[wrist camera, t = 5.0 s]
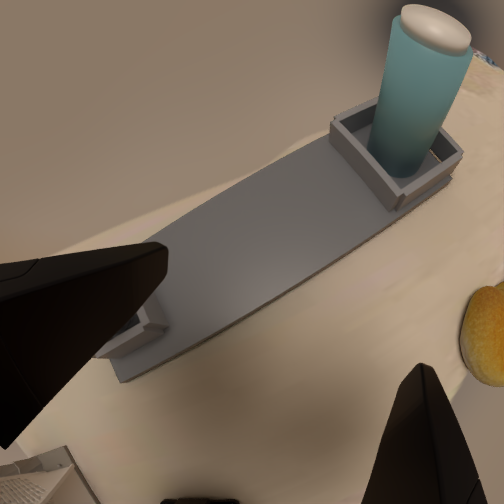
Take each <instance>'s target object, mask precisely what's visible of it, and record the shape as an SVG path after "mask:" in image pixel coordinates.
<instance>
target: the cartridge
mask: <svg viewBox="0 0 504 504" xmlns="http://www.w3.org/2000/svg"><path fill="white" fill-rule="evenodd" d="M470 41H471V35H470V33H469V31H468V30H467V29H466V28H465V27H464V26H463V25H462V24H461V23H460V22H458V21H457V20H456V19H454V18H453V17H451V16H449V15H447V14H445V13H443V12H441V11H439V10H436V9H434V8H431V7H427V6H423V5H416V4H411V5H406V6H404V7H403V8H402V12H401V15H399V16H396V17H395V18H394V20H393V23H392V29H391V36H390V42H389V48H388V53H387V59H386V64H385V69H384V74H383V79H382V84H381V89H380V94H379V98H378V102H377V107H376V111H375V115H374V120H373V124H372V128H371V132H370V136H369V140H368V144H367V151H368V152H369V153H370V154H371V155H372V156H373V158H374V159H375V160H376V161H377V162H378V163H379V164H380V165H381V167H382V168H383V169H384V170H385V171H386V172H387V174H388V175H389V176H391V177H395V178H407V177H410V176H412V175H414V174H415V173H416V172H417V171H418V170H419V168H420V166H421V164H422V162H423V161H424V159H425V157H426V155H427V153H428V151H429V149H430V148H431V146H432V144H433V142H434V140H435V138H436V136H437V134H438V132H439V130H440V128H441V126H442V124H443V122H444V120H445V118H446V116H447V114H448V112H449V110H450V108H451V105H452V103H453V101H454V99H455V97H456V95H457V92H458V90H459V88H460V86H461V83H462V81H463V79H464V76H465V74H466V72H467V69H468V67H469V64H470V62H471V59H472V57H473V51H472V49H471V47H470V45H469V44H470Z"/></svg>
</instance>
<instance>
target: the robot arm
mask: <svg viewBox="0 0 504 504" xmlns="http://www.w3.org/2000/svg"><path fill="white" fill-rule="evenodd" d="M168 258H169V250H168V247H167V246H165V245H163V244H161V243H159V242H156V241H153V242H146V243H139V244H132V245H125V246H118V247H111V248H104V249H97V250H90V251H83V252H77V253H70V254H64V255H57V256H51V257H45V258H41V259H33V260H26V261H20V262H13V263H4V264H0V446H1V447H2V448H3V449H5V450H6V449H7V448H8V447H9V446H10V445H11V444H12V442H13V441H14V440H15V439H16V438H17V437H18V436H19V435H20V434H21V433H22V431H23V430H24V429H25V428H26V427H27V426H28V425H29V424H30V423H31V422H32V420H33V419H34V418H35V417H36V416H37V415H38V414H39V413H40V412H41V411H42V410H43V407H45V406H46V405H47V404H48V403H49V402H50V401H51V400H52V399H53V398H54V396H55V395H56V394H57V393H58V392H59V391H60V390H61V389H62V388H63V387H64V386H65V385H66V384H67V383H68V382H69V381H70V380H71V379H72V378H73V376H74V375H75V374H76V373H77V372H78V371H79V370H80V369H81V368H82V367H83V366H84V365H85V364H86V363H87V362H88V361H89V360H90V359H91V358H92V357H93V356H94V355H95V354H96V353H97V352H98V351H99V350H100V349H101V348H102V347H103V346H104V345H105V344H106V343H107V342H108V341H109V340H110V339H111V338H112V337H113V336H114V335H115V334H116V333H117V332H118V331H119V330H120V329H121V328H122V327H123V326H124V325H125V324H126V323H127V322H128V321H129V320H130V319H131V318H132V317H133V316H134V315H135V314H136V312H137V311H138V310H139V309H140V308H141V306H142V305H143V304H144V303H145V302H146V300H147V299H148V298H149V297H150V296H151V294H152V293H153V292H154V291H155V289H156V288H157V287H158V286H159V285H160V283H161V282H162V281H163V280H164V279H165V277H166V275H167V272H168ZM478 478H479V476H478V473H477V470H476V467H475V464H474V461H473V459H472V456H471V453H470V451H469V448H468V445H467V443H466V440H465V437H464V435H463V433H462V430H461V428H460V425H459V423H458V420H457V418H456V416H455V414H454V411H453V409H452V407H451V404H450V402H449V400H448V398H447V396H446V393H445V391H444V389H443V387H442V385H441V383H440V381H439V379H438V376H437V374H436V372H435V370H434V369H433V367H431V366H429V365H426V364H424V363H418V364H417V365H416V366H415V367H414V368H413V369H412V371H411V372H410V373H409V374H408V375H407V376H406V377H405V379H404V380H403V381H402V382H401V384H400V386H399V388H398V391H397V394H396V397H395V401H394V404H393V407H392V410H391V413H390V416H389V419H388V421H387V424H386V427H385V430H384V433H383V435H382V438H381V442H380V445H379V449H378V453H377V456H376V460H375V463H374V466H373V470H372V473H371V476H370V479H369V482H368V485H367V488H366V491H365V494H364V497H363V500H362V503H361V504H488V503H487V500H486V497H485V494H484V491H483V488H482V484H481V481H480V479H478ZM165 503H166V504H240V503H239V502H238V501H237V500H234V499H227V500H210V499H186V498H179V499H178V500H172V499H164V500H163V501H162V502H161V503H160V504H165Z"/></svg>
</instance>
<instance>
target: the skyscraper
mask: <svg viewBox="0 0 504 504" xmlns="http://www.w3.org/2000/svg"><path fill="white" fill-rule="evenodd" d="M0 504H100V502H99V501H98V499H97V498H96V496H95V495H94V493H93V491H92V490H91V488H90V487H89V485H88V483H87V482H86V480H85V479H84V477H83V475H82V473H81V472H80V470H79V468H78V467H77V465H76V463H75V461H74V459H73V457H72V456H71V454H70V452H69V450H68V448H67V446H63V447H60V448H57V449H55V450H52V451H49V452H46V453H43V454H40V455H37V456H35V457H32V458H30V459H25V460H20V461H15V462H12V463H10V464H8V465H3V466H0Z"/></svg>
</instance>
